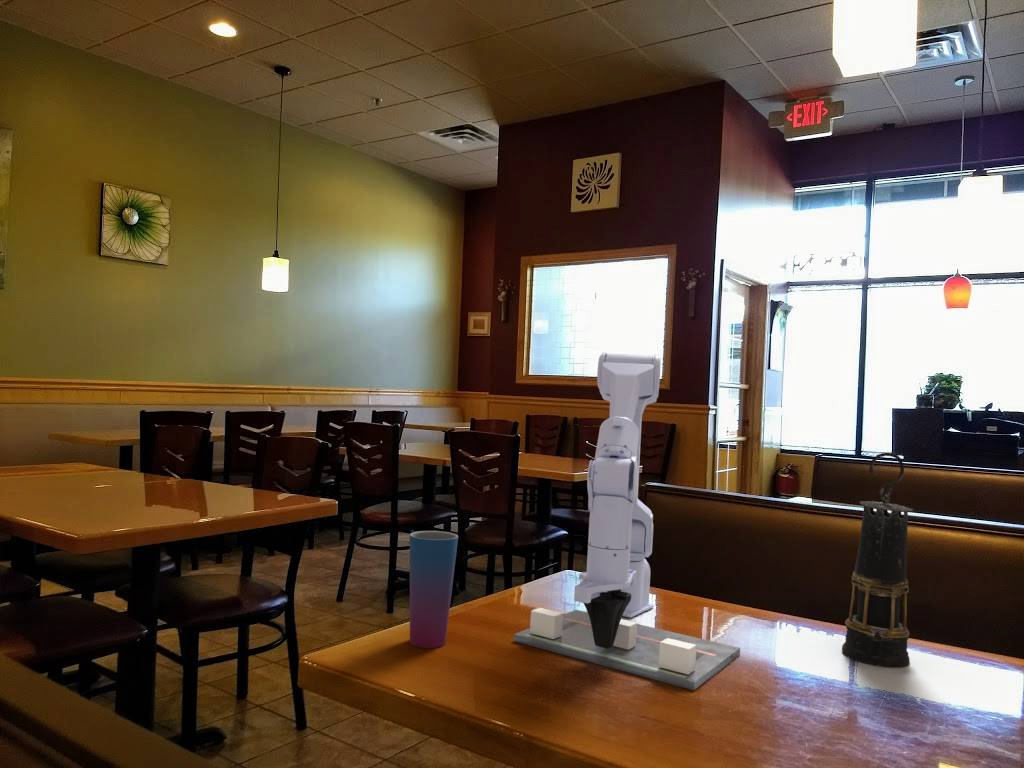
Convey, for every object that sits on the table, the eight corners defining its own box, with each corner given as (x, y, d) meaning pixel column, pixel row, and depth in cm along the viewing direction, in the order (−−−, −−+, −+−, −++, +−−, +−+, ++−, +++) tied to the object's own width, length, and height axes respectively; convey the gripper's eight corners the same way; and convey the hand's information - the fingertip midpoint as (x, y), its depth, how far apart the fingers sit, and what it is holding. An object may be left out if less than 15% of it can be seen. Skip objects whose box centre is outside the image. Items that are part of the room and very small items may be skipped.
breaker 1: (538, 629, 112) (539, 607, 112) (562, 635, 110) (563, 613, 110) (529, 632, 110) (530, 610, 110) (553, 639, 108) (554, 616, 108)
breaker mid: (610, 639, 109) (611, 616, 109) (635, 645, 107) (637, 622, 107) (602, 643, 107) (603, 620, 107) (628, 649, 105) (629, 626, 105)
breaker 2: (666, 662, 101) (667, 637, 101) (695, 669, 98) (696, 644, 98) (658, 666, 99) (660, 642, 99) (688, 674, 96) (689, 649, 96)
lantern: (876, 670, 106) (886, 454, 106) (827, 648, 114) (836, 449, 115) (924, 665, 109) (933, 456, 110) (872, 644, 118) (881, 450, 118)
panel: (575, 615, 124) (575, 609, 124) (739, 654, 109) (740, 647, 109) (513, 641, 109) (514, 634, 109) (694, 690, 94) (694, 682, 94)
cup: (449, 651, 103) (455, 541, 103) (399, 648, 103) (406, 538, 104) (454, 636, 110) (460, 532, 110) (407, 633, 110) (413, 529, 110)
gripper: (607, 535, 112) (602, 628, 111) (556, 547, 100) (550, 652, 99) (651, 542, 108) (646, 638, 107) (604, 556, 96) (598, 665, 95)
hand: (603, 646), depth 103 cm, fingers closed
